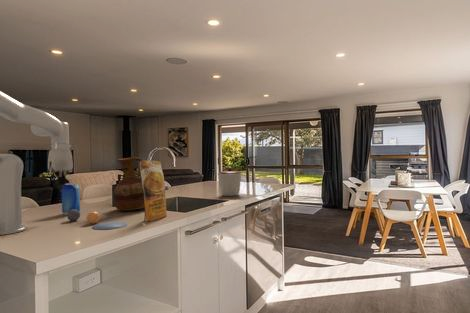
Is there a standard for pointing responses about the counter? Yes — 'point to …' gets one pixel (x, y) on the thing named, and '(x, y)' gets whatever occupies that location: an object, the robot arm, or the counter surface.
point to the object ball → (93, 217)
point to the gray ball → (73, 215)
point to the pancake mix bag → (153, 189)
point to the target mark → (109, 225)
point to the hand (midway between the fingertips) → (61, 184)
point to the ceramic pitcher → (129, 187)
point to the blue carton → (70, 197)
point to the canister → (229, 182)
